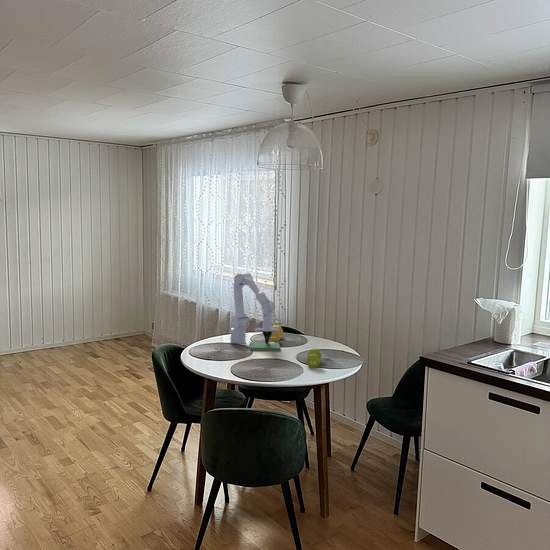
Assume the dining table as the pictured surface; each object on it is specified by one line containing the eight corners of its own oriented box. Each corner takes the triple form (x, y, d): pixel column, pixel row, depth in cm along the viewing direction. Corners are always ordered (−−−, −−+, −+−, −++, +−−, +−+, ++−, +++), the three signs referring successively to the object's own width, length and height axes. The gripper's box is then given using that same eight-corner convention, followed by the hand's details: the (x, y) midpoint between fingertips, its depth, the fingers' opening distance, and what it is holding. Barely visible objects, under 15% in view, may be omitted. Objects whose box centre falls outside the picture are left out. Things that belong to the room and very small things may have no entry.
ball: (272, 349, 309) (269, 345, 309) (271, 348, 313) (268, 344, 312) (277, 345, 310) (273, 341, 309) (276, 344, 313) (272, 340, 312)
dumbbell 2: (270, 336, 342) (270, 324, 341) (283, 337, 341) (283, 325, 340) (265, 343, 324) (266, 330, 323) (279, 344, 322) (280, 331, 322)
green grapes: (307, 359, 289) (308, 347, 289) (321, 361, 288) (322, 348, 287) (304, 368, 273) (305, 354, 272) (319, 369, 272) (320, 356, 271)
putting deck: (250, 350, 303) (250, 347, 303) (249, 345, 317) (249, 341, 316) (280, 351, 305) (280, 348, 304) (278, 345, 319) (278, 342, 318)
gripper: (255, 322, 304) (255, 345, 306) (280, 323, 306) (279, 345, 307) (255, 320, 311) (254, 342, 313) (278, 320, 313) (278, 342, 314)
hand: (266, 343), depth 310 cm, fingers closed
